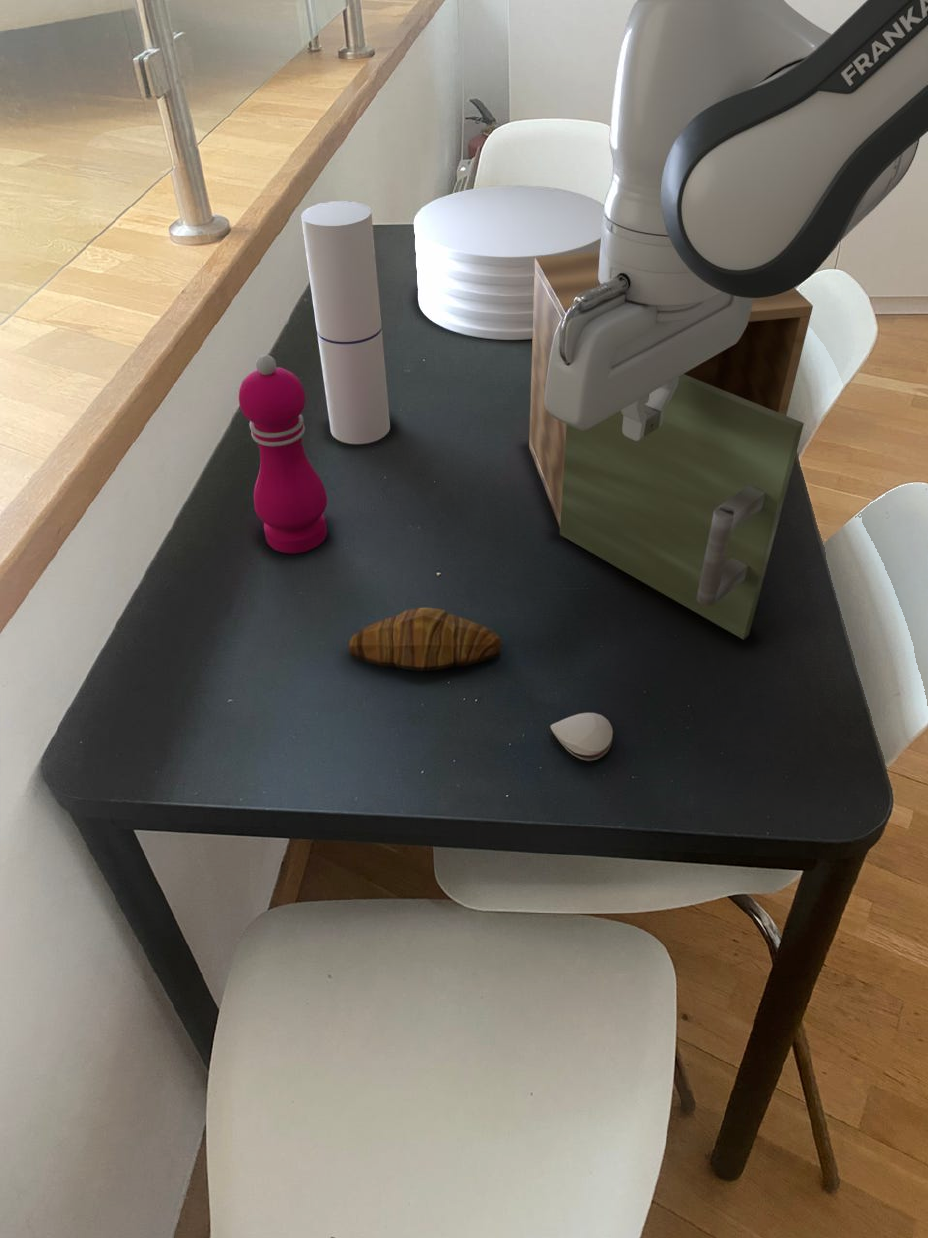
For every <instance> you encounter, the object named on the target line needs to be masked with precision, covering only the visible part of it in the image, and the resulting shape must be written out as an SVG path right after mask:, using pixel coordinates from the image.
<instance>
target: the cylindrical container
mask: <svg viewBox="0 0 928 1238" xmlns="http://www.w3.org/2000/svg"><path fill="white" fill-rule="evenodd" d="M372 215H373V214H372V209H371V207H369V206H368V205H367V204H364V203H361V202H357V201H349V200H348V201H347V200H337V201H336V200H335V201H334V200H333V201H328V202H327V201H326V202H321V203H316V204H314V205H312V206H311V205H310V206H309V207H307V208H306V209H304V210H303V211H302V212H301V213H300V218H301V225H302V226H301V227H302V233H303V240H304V241H303V242H304V247H305V255H306V262H307V269H308V277H309V284H310V290H311V299H312V305H313V311H314V319H315V320H314V321H315V326H316V327H315V328H316V334H317V341H318V349H319V356H320V357H319V358H320V364H321V371H322V378H323V385H324V393H325V400H326V406H327V407H326V408H327V415H328V421H329V429H330V433H331V435H332V437H333V438H334V439H336V440H337V441H339V442H341V443H344V444H349V445H364V444H370V443H374V442H377V441H380V440H381V439H383V438H384V437H385V436H386V435H388V434H389V432H390V430H391V422H390V421H391V420H390V411H389V397H388V388H387V387H388V385H387V375H386V363H385V353H384V351H385V350H384V340H383V328H382V317H381V307H380V306H381V305H380V296H379V295H380V294H379V293H380V292H379V284H378V283H379V282H378V271H377V261H376V248H375V238H374V237H375V236H374V226H373V217H372Z"/></svg>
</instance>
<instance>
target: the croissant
mask: <svg viewBox="0 0 928 1238" xmlns="http://www.w3.org/2000/svg"><path fill="white" fill-rule="evenodd" d="M502 647H503V644H502V642H501V638H500V636H499V634H497V633H495V632H494V631H492V630H491V629H489V628H487V627H486V626H485V625H482V624H480V623H477V622H474V621H472V620H469V619H466V618H464V617H460V616H457V615H453V614H451V613H449V612H448V611H446V610H444V609H440V608H432V607H425V606H424V607H417V608H410V609H406V610H404V611H403V612H401V613H400V614H398V615H396V616H392V617H388V618H385V619H382V620H380V621H377V622H375V623H372V624H370V625H368V626H365V627H364V628H363V629H361V630H359V631H358V632H356V633H355V634H353V635H352V636H351V638H350V639H349V644H348V650H349V653H350V655H351V657H352V658H354V659H356V660H359V661H361V662H365V663H367V664H372V665H375V666H379V667H384V668H399V669H403V670H405V671H407V670H408V671H416V672H432V671H441V670H446V669H449V668H454V667H456V668H464V667H468V666H472V665H476V664H480V663H485V662H487V661H490V660H493V659H494V658H495V659H496V658H497V657H499V656H500V653H501V651H502Z"/></svg>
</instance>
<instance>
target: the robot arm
mask: <svg viewBox="0 0 928 1238" xmlns="http://www.w3.org/2000/svg"><path fill="white" fill-rule="evenodd" d="M622 35H623V36H622V38H621V44H620V49H619V54H618V59H617V60H618V62H617V65H616V74H615V80H614V88H613V93H612V95H613V96H612V103H611V113H610V123H609V135H608V136H609V139H608V142H609V150H610V154H611V158H612V159H611V160H612V161H611V162H612V172H611V173H612V174H611V175H612V176H611V180H610V184H609V187H608V189H607V190H608V191H607V193H606V195H605V199H604V204H603V205H604V209H603V222H602V234H601V246H600V258H599V270H598V279H599V282H600V284H601V285H599V286H598V287H597V288H594V289H592V290H587V291H584V292H582V293H581V294H579V295H578V296H577V297H576V298H575V299H574V305H573V306H572V307H571V308H570V309H569V310H568V312H567V314H566V315H565V316H564V317H563V318H562V319H561V321H560V323H559V325H558V327H557V329H556V332H555V336H554V339H553V343H552V348H551V354H550V359H549V366H548V373H547V380H546V389H545V407H546V409H547V411H548V412H549V413H550V414H551V415H552V416H553V417H554V418H556V419H557V420H559V421H561V422H563V423H565V424H567V425H569V426H572V427H574V428H576V429H579V430H587V429H589V428H591V427H593V426H595V425H596V424H598V423H600V422H601V421H603V420H605V419H607V418H608V417H610V416H612V415H613V414H615V413H617V412H619V411H620V410H621V412H622V414H623V415H624V416H623V426H622V432H623V434H624V435H625V436H626V437H628V438H630V439H632V440H635V441H638V440H640V439H642V438H643V437H645V436H646V435H648V434H649V433H651V432H653V431H655V430H656V429H658V428H660V427H661V426H662V425H663V419H664V412H665V408H666V407H667V405H668V403H669V401H670V399H671V398H672V396H673V394H674V392H675V390H676V388H677V386H678V382H679V376H681V375H683V374H684V373H686V372H688V371H689V370H691V369H693V368H695V367H696V366H698V365H700V364H701V363H703V362H705V361H707V360H708V359H710V358H712V357H714V356H715V355H717V354H719V353H720V352H722V351H724V350H726V349H727V348H729V347H731V346H733V345H735V344H736V343H737V342H738V340H739V339H740V337H741V336H742V334H743V332H744V330H745V329H746V327H747V324H748V321H749V317H750V314H751V310H752V306H753V301H754V298H763V297H770V296H774V295H778V294H781V293H784V292H786V291H789V290H791V289H793V288H796V287H798V286H799V285H801V284H803V283H804V282H805V281H806V280H808V279H809V278H811V276H812V275H813V274H814V273H815V272H816V271H818V270H819V268H820V267H821V266H822V265H823V264H824V262H825V261H826V260H827V258H829V256H830V255H831V254H832V253H833V252H834V251H835V249H836V248H837V247H838V245H839V243H840V242H842V240H843V239H844V238H846V237H847V236H848V234H849V233H851V232H852V231H853V229H855V228H856V227H857V226H858V225H859V224H860V223H861V222H862V221H863V220H864V219H865V218H866V217H867V216H869V215H870V214H871V213H872V212H873V211H874V210H875V209H876V208H877V207H878V206H879V205H880V204H881V203H882V202H883V200H885V199H886V197H888V195H890V194H891V192H892V191H893V190H894V189H895V188H896V187H897V186H898V185H899V184H900V183H901V181H902V180H903V179H904V177H905V176H906V174H907V172H908V171H909V169H910V168H911V166H912V163H913V161H914V159H915V157H916V154H917V151H918V148H919V144H920V140H921V138H922V137H923V136H925V135H926V134H927V133H928V0H865V2H864V3H863V4H862V5H860V7H858V9H857V10H856V11H854V12H853V13H852V14H851V15H850V16H849V17H848V18H847V19H846V20H844V22H843V23H842V24H841V25H840V26H839V27H837V29H836V30H835V31H834V32H833V33H830V32H828V31H826V30H825V29H823V28H822V27H819V26H818V25H816V24H815V23H813V22H811V21H810V20H809V19H808V18H806V17H804V15H802V14H801V13H799V12H798V11H797V10H795V9H794V8H793V7H792V6H791V5H790V4H788V2H786V1H785V0H637V1H636V2H635V3H634V5H633V6H632V8H631V10H630V13H629V15H628V18H627V21H626V24H625V28H624V31H623V34H622Z"/></svg>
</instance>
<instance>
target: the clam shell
mask: <svg viewBox="0 0 928 1238" xmlns="http://www.w3.org/2000/svg"><path fill="white" fill-rule="evenodd" d="M550 729H551V731H552V733H553V734H554V737H556V739H557V741H559V743H560V744H561V745H562V746H563V747H564V748H565V750H566V751H567V752H568V753H570V754H571V755H572V756H574V757H576V758H578V759H579V760H583V761H588V762H591V761H596V760H599V759H600V758H602V757H604V755H606V754H607V753H608V752H609V750H610V749H611V747H612V741H613V733H614V730H613V726H612V724H611V722H610V721H609V719H607V718H606V717H605V716H604V715H602V714H599V713H596V712H582V713H576V714H574V715H571V716H568V717H566V718H563V719H561V720H559V721H556V722H554V723H552V724H550Z"/></svg>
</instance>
